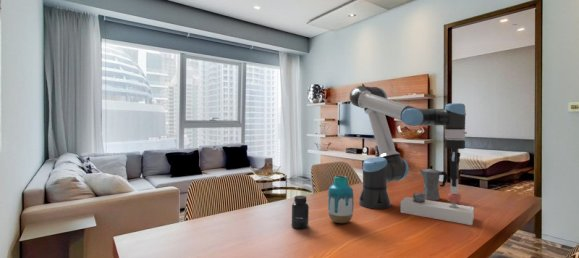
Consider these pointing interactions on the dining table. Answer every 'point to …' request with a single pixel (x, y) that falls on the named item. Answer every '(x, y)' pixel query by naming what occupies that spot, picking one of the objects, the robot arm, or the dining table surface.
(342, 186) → the vase
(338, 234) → the dining table surface
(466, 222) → the block
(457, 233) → the dining table surface
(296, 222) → the supplement bottle
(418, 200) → the plunger
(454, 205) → the red plunger
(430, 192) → the coffeepot
